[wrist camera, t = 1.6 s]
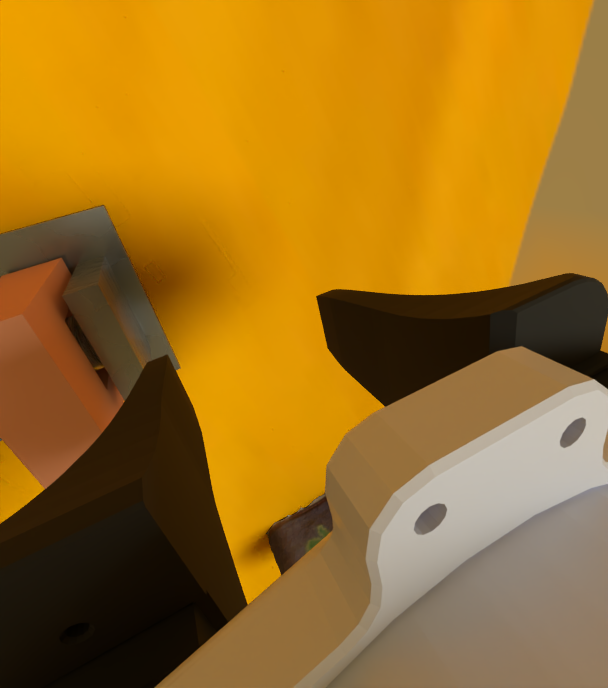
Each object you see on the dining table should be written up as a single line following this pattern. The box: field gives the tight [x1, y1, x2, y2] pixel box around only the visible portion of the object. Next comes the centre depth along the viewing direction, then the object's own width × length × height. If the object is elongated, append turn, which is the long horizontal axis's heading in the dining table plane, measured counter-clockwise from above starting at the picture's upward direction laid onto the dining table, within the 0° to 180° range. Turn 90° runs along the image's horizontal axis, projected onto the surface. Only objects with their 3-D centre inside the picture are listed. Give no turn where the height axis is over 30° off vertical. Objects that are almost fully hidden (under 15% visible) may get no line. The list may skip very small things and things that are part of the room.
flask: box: [266, 494, 333, 575], centre depth 27 cm, size 9×3×11 cm, turn 107°
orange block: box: [0, 258, 123, 489], centre depth 15 cm, size 6×2×8 cm, turn 14°
